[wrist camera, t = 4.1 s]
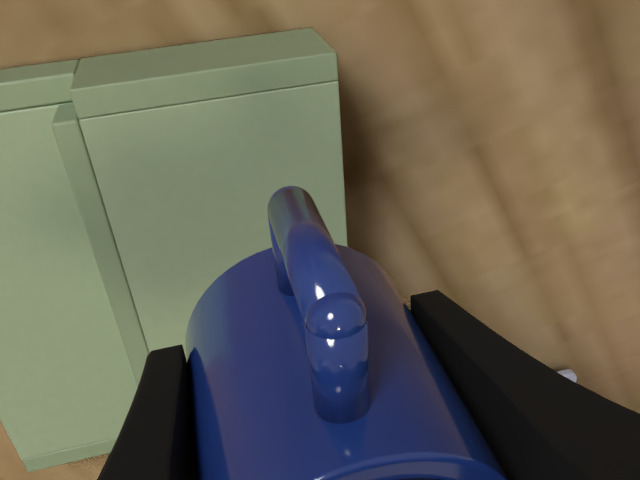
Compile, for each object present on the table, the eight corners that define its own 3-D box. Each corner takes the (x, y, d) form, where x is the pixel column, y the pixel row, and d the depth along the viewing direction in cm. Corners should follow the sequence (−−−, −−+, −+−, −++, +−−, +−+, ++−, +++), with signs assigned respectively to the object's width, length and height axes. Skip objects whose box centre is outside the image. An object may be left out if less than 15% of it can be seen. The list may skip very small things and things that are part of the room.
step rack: (338, 373, 27) (358, 425, 24) (33, 443, 25) (20, 507, 22) (312, 26, 19) (337, 52, 16) (-145, 87, 17) (-195, 127, 14)
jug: (400, 405, 15) (505, 631, 11) (211, 451, 15) (239, 714, 10) (400, 133, 11) (564, 310, 7) (139, 176, 11) (131, 409, 6)
